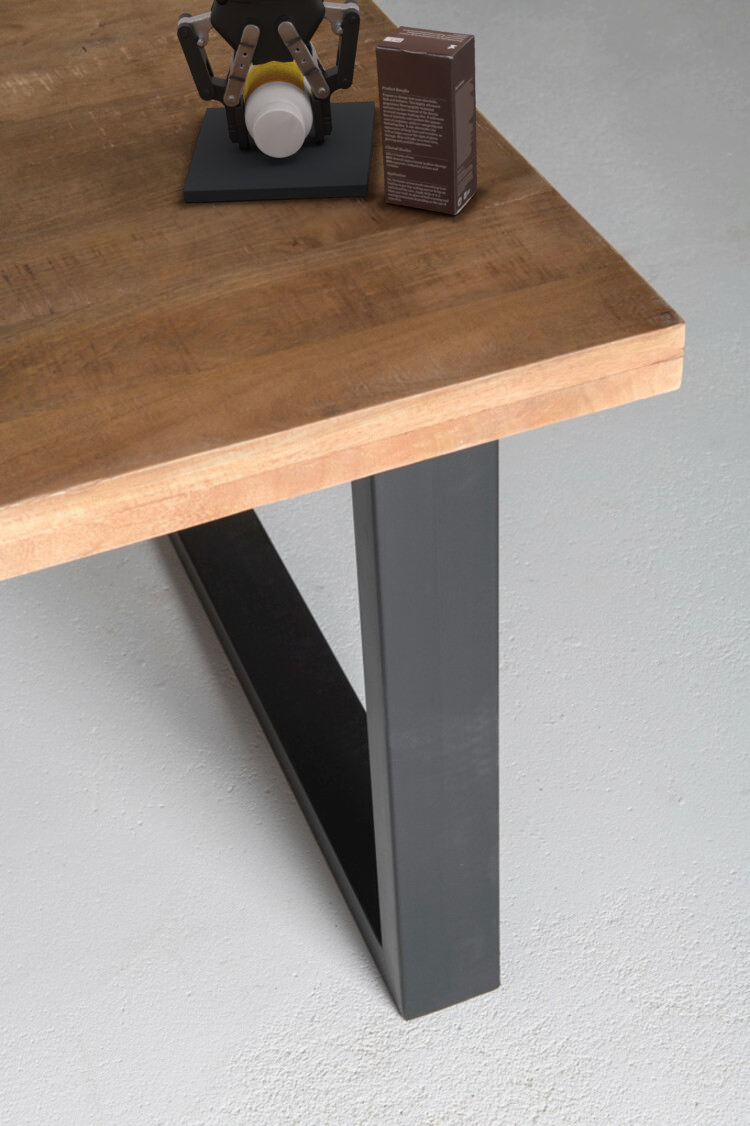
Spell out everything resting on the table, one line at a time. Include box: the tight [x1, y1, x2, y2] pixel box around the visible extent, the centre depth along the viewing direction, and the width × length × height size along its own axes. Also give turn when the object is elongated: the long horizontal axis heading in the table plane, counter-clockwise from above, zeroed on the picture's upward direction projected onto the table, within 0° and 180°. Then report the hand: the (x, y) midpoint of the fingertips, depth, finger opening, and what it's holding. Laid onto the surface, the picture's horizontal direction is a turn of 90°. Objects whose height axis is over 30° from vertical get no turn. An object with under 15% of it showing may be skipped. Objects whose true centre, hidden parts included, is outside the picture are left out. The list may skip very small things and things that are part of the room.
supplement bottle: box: [244, 60, 313, 158], centre depth 111 cm, size 5×5×10 cm
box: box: [374, 25, 478, 216], centre depth 102 cm, size 6×4×12 cm
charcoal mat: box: [182, 100, 376, 203], centre depth 112 cm, size 14×14×1 cm
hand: (282, 141), depth 111 cm, fingers closed on supplement bottle, 5 cm apart
